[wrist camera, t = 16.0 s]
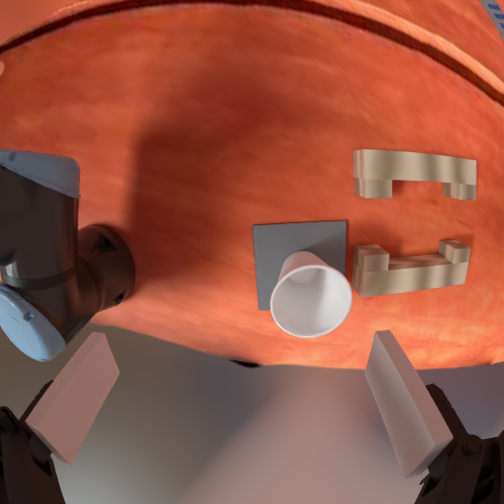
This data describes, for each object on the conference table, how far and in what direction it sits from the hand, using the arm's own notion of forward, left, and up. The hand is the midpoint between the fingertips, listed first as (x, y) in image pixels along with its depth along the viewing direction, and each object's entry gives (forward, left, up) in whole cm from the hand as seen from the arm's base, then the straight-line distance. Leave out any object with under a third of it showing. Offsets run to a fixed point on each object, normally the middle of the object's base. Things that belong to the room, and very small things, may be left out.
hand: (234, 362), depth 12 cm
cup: (+6, -8, -30) cm, 31 cm away
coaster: (+6, -7, -30) cm, 32 cm away
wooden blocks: (+25, 0, -30) cm, 39 cm away
